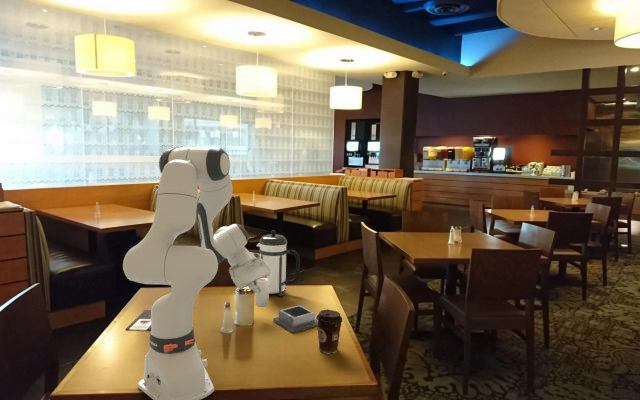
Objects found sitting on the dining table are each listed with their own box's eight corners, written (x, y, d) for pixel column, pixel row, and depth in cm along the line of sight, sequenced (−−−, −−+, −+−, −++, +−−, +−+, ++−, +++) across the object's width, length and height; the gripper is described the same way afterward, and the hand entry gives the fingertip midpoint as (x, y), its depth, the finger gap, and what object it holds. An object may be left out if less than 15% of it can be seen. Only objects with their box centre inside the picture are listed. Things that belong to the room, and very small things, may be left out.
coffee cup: (318, 357, 136) (320, 318, 135) (312, 345, 144) (313, 309, 143) (344, 354, 139) (345, 316, 137) (336, 343, 147) (337, 307, 145)
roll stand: (320, 324, 162) (320, 313, 161) (292, 333, 154) (292, 320, 153) (300, 314, 172) (300, 303, 171) (273, 321, 164) (273, 309, 163)
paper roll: (270, 305, 164) (271, 280, 163) (259, 307, 161) (260, 282, 160) (264, 301, 168) (264, 277, 167) (253, 303, 165) (253, 279, 164)
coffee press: (267, 301, 185) (268, 234, 181) (250, 291, 198) (251, 228, 194) (300, 294, 195) (301, 231, 192) (282, 285, 208) (283, 225, 204)
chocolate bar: (167, 310, 170) (150, 329, 152) (167, 312, 170) (150, 331, 152) (145, 310, 170) (125, 328, 152) (145, 312, 170) (125, 331, 152)
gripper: (231, 263, 156) (253, 293, 153) (261, 252, 175) (281, 279, 172) (222, 273, 158) (243, 302, 155) (252, 261, 177) (271, 288, 174)
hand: (263, 290), depth 164 cm, fingers closed on paper roll, 5 cm apart
